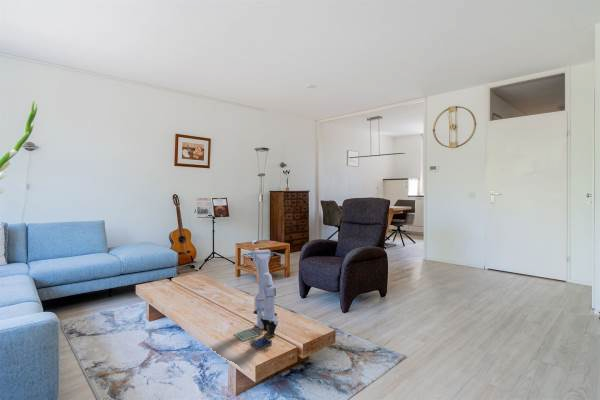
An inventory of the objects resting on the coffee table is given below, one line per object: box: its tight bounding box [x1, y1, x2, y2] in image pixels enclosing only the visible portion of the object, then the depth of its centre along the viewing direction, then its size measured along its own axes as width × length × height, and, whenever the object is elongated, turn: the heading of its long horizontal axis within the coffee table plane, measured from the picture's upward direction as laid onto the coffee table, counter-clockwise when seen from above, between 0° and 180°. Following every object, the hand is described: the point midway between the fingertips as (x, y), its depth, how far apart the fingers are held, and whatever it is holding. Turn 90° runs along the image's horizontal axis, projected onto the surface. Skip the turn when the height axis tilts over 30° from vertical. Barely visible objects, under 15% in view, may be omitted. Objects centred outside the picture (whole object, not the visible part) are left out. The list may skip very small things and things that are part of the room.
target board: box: [233, 328, 260, 342], centre depth 178 cm, size 10×10×1 cm
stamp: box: [263, 325, 276, 340], centre depth 176 cm, size 5×4×6 cm
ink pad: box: [250, 337, 273, 350], centre depth 167 cm, size 8×7×1 cm
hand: (269, 332), depth 176 cm, fingers open, 5 cm apart
